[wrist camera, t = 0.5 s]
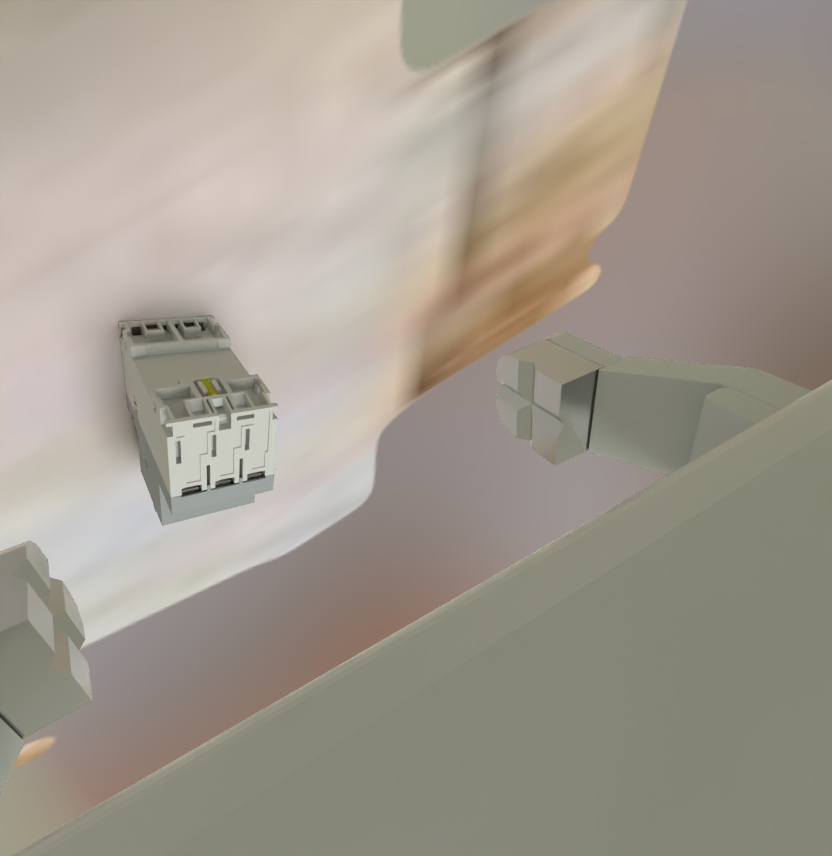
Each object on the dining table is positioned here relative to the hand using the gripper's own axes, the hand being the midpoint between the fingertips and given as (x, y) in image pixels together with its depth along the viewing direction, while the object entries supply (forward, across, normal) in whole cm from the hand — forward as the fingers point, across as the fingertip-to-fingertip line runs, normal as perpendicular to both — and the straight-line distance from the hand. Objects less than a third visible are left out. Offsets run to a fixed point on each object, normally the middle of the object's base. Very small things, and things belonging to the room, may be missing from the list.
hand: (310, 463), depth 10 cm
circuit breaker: (+42, 0, +19) cm, 46 cm away
